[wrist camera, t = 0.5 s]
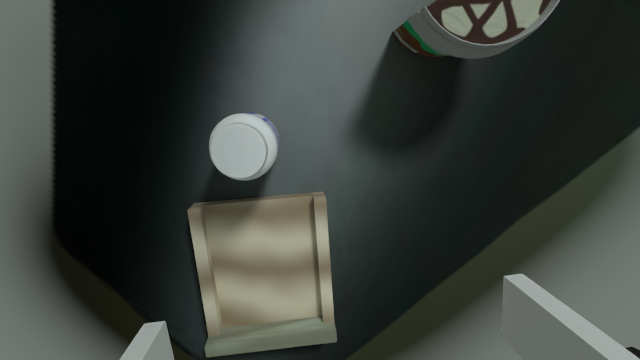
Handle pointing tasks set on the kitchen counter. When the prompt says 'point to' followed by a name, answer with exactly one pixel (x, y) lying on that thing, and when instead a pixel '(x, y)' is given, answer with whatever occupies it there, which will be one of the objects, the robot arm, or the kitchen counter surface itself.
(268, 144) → the pill bottle
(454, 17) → the food container
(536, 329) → the robot arm
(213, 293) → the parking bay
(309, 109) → the kitchen counter surface
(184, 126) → the kitchen counter surface
